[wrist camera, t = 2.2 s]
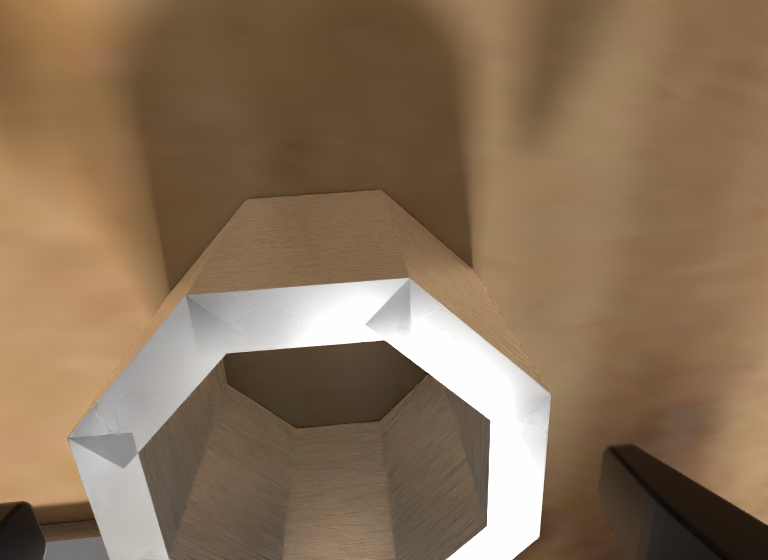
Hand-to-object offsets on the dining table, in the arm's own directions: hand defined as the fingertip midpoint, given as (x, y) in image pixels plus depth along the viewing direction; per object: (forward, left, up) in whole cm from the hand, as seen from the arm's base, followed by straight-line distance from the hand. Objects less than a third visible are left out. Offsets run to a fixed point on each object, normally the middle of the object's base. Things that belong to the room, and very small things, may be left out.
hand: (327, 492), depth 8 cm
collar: (0, 0, -5) cm, 5 cm away
